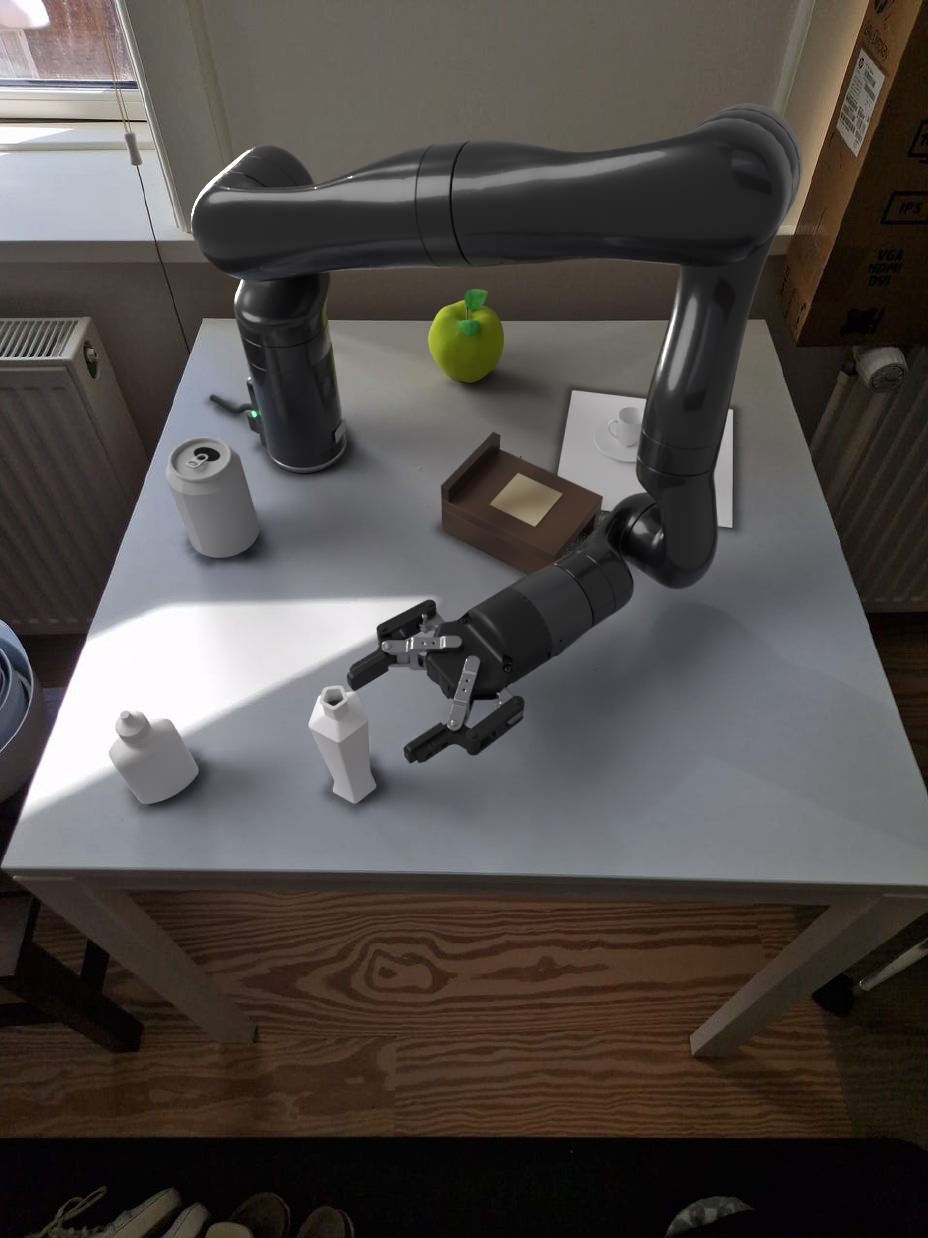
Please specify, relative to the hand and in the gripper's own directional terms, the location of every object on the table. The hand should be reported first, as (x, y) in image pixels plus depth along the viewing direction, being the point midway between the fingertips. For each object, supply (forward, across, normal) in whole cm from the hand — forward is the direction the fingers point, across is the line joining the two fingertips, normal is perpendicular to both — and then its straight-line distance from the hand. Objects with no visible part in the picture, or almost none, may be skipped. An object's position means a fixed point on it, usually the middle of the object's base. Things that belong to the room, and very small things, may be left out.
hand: (377, 718), depth 70 cm
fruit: (-39, -40, +9) cm, 57 cm away
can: (-2, -33, +9) cm, 34 cm away
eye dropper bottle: (+16, -10, +9) cm, 21 cm away
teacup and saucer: (-48, -15, +9) cm, 51 cm away
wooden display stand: (-28, -15, +8) cm, 33 cm away
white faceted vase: (+3, 0, +9) cm, 9 cm away
